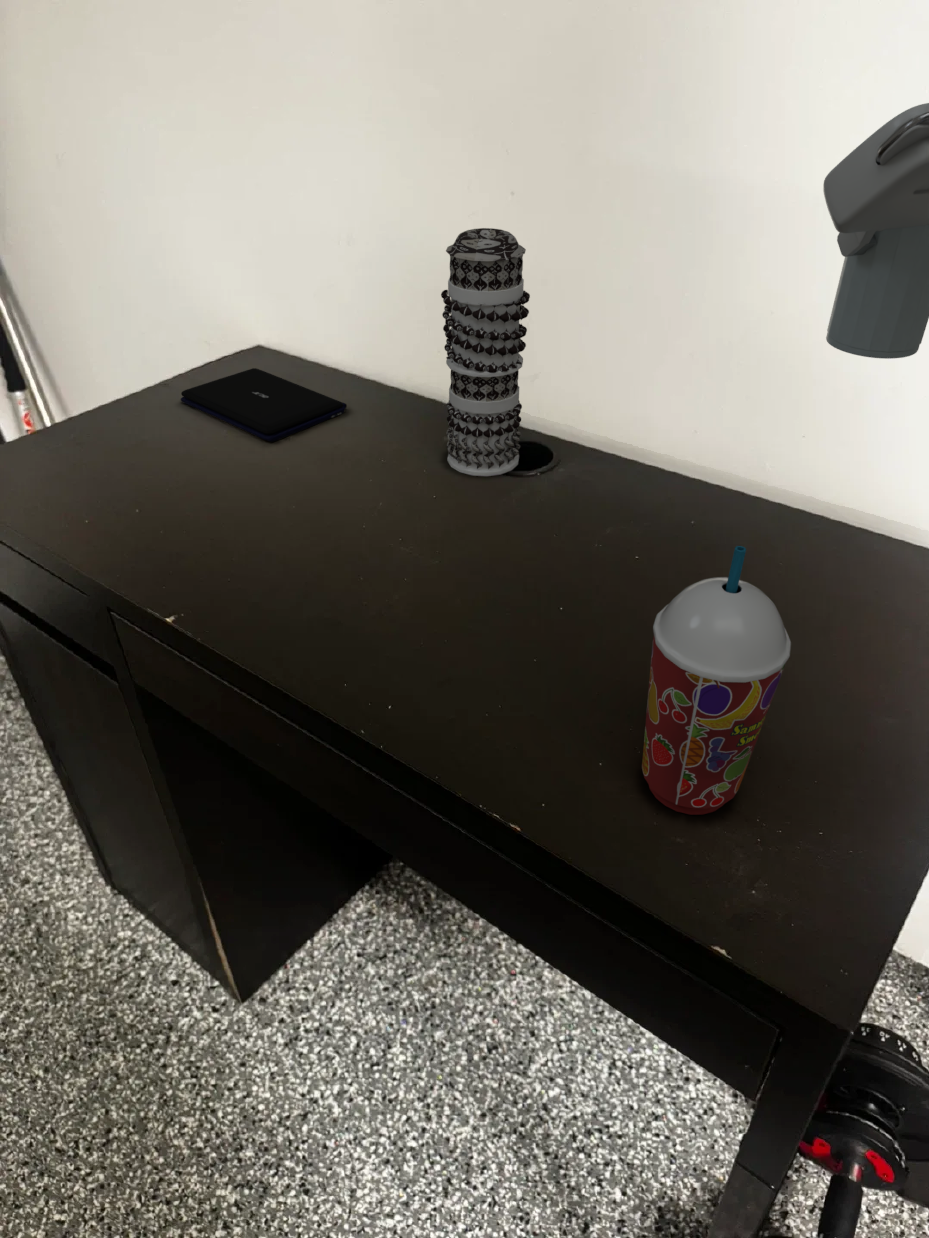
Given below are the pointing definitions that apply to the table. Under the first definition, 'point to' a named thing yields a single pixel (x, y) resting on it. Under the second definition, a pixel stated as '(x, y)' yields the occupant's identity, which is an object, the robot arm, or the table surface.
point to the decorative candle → (484, 350)
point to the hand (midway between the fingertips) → (893, 242)
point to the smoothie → (710, 689)
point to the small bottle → (883, 296)
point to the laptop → (263, 404)
